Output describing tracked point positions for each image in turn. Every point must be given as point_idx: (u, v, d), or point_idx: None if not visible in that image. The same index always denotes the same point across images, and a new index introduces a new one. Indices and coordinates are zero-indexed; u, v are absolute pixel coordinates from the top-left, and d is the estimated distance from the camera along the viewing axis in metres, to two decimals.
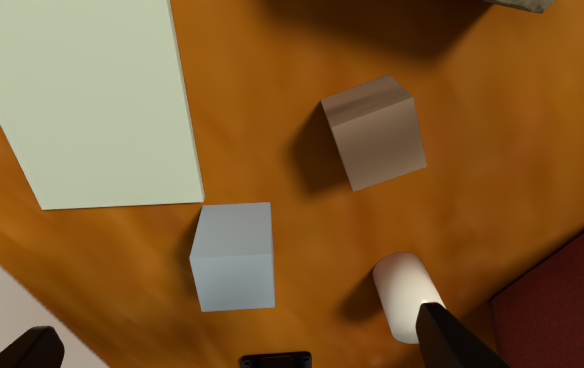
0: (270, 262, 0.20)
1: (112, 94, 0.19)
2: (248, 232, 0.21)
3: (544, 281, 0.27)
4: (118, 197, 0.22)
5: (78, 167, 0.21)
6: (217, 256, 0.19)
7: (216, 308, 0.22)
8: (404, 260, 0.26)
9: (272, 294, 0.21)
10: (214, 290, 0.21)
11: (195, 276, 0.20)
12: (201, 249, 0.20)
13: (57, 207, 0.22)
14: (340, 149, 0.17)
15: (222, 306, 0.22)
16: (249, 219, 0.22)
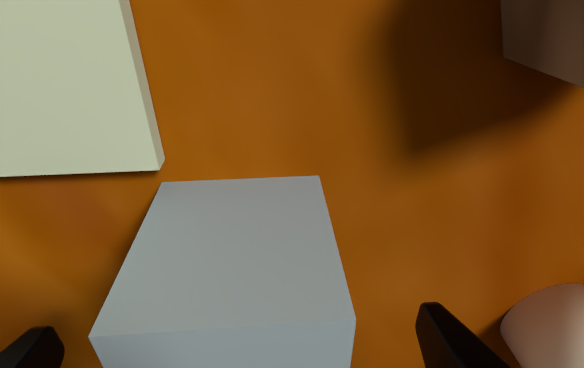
0: (348, 343, 0.06)
1: None
2: (276, 247, 0.08)
3: None
4: None
5: None
6: (182, 330, 0.06)
7: None
8: None
9: None
10: None
11: None
12: (133, 301, 0.06)
13: None
14: None
15: None
16: (275, 214, 0.09)
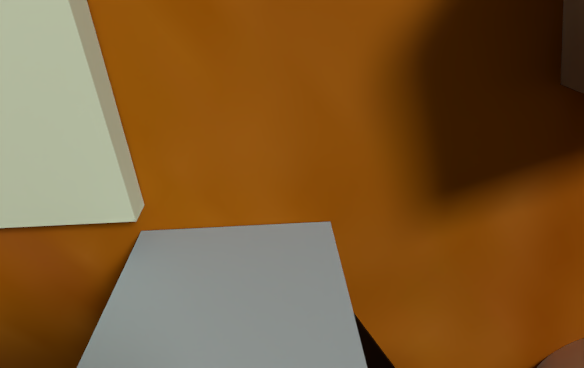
0: None
1: None
2: (280, 337, 0.06)
3: None
4: None
5: None
6: None
7: None
8: None
9: None
10: None
11: None
12: None
13: None
14: None
15: None
16: (278, 282, 0.07)
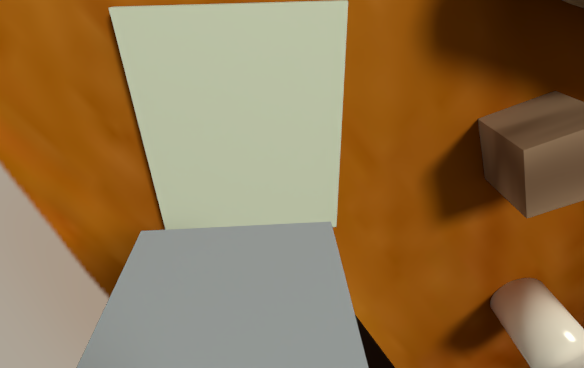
0: None
1: (267, 114, 0.17)
2: (279, 337, 0.06)
3: None
4: (249, 222, 0.21)
5: (214, 191, 0.19)
6: None
7: None
8: (533, 287, 0.24)
9: None
10: None
11: None
12: None
13: None
14: (526, 173, 0.16)
15: None
16: (279, 282, 0.07)
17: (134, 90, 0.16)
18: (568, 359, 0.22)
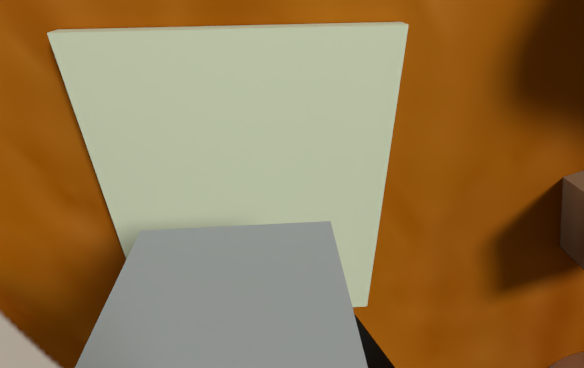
0: None
1: (283, 177, 0.12)
2: (279, 337, 0.06)
3: None
4: None
5: None
6: None
7: None
8: None
9: None
10: None
11: None
12: None
13: None
14: None
15: None
16: (278, 282, 0.07)
17: (94, 147, 0.11)
18: None
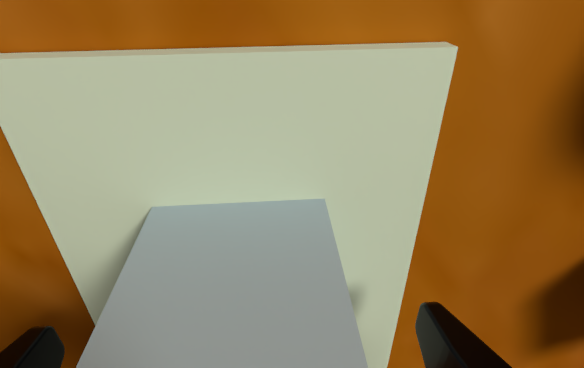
0: None
1: None
2: (278, 291, 0.07)
3: None
4: None
5: None
6: None
7: None
8: None
9: None
10: None
11: None
12: (110, 365, 0.05)
13: None
14: None
15: None
16: (277, 248, 0.08)
17: (46, 201, 0.09)
18: None
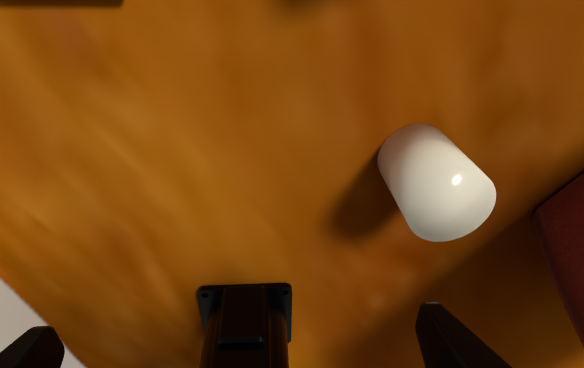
0: None
1: None
2: None
3: None
4: None
5: None
6: None
7: None
8: (424, 130, 0.18)
9: None
10: None
11: None
12: None
13: None
14: None
15: None
16: None
17: None
18: (454, 206, 0.16)
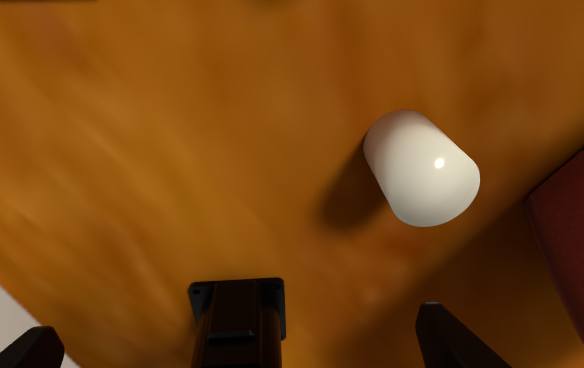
0: None
1: None
2: None
3: None
4: None
5: None
6: None
7: None
8: (408, 115, 0.18)
9: None
10: None
11: None
12: None
13: None
14: None
15: None
16: None
17: None
18: (438, 189, 0.16)
